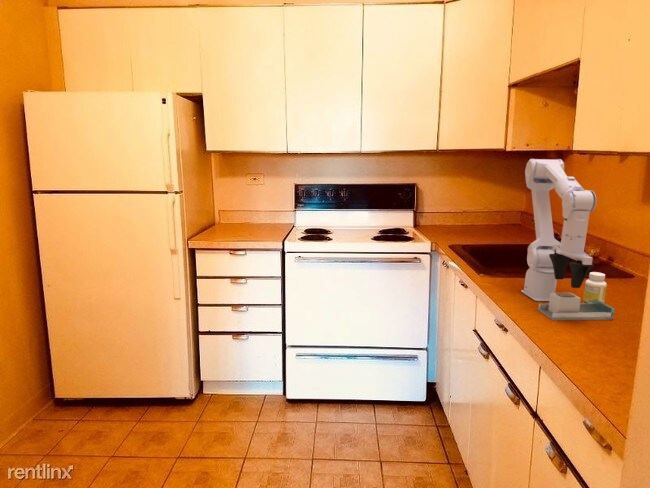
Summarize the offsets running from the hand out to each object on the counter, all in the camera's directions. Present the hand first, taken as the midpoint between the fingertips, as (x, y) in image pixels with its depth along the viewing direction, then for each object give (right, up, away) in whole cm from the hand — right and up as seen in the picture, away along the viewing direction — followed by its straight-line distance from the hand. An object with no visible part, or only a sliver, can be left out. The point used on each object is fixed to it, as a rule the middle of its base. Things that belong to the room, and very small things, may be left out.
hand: (567, 283), depth 120 cm
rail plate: (+3, -9, +2) cm, 10 cm away
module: (0, -8, +2) cm, 9 cm away
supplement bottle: (+13, -8, +10) cm, 19 cm away
